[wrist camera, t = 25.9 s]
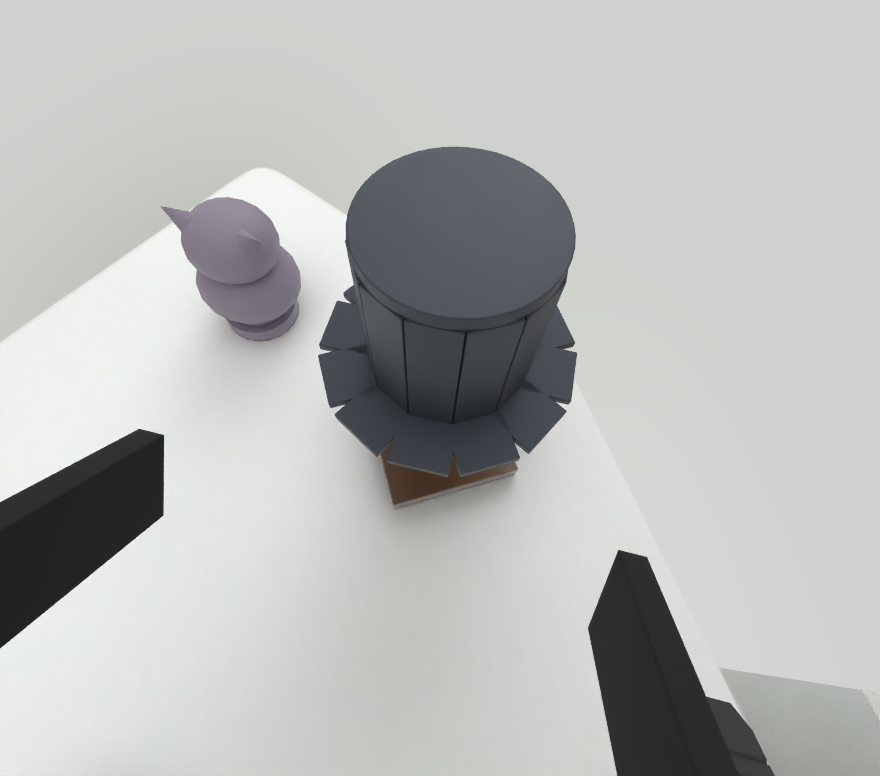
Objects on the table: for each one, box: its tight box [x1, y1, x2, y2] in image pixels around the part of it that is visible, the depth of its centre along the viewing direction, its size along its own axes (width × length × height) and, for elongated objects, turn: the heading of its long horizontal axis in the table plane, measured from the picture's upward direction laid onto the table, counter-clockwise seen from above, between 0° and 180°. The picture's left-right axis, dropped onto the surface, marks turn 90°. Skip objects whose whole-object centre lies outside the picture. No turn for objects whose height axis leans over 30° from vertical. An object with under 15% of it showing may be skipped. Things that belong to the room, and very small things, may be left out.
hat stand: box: [380, 443, 517, 509], centre depth 30 cm, size 10×10×23 cm
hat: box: [318, 147, 577, 477], centre depth 23 cm, size 14×14×10 cm
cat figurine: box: [161, 197, 301, 341], centre depth 39 cm, size 8×8×12 cm
